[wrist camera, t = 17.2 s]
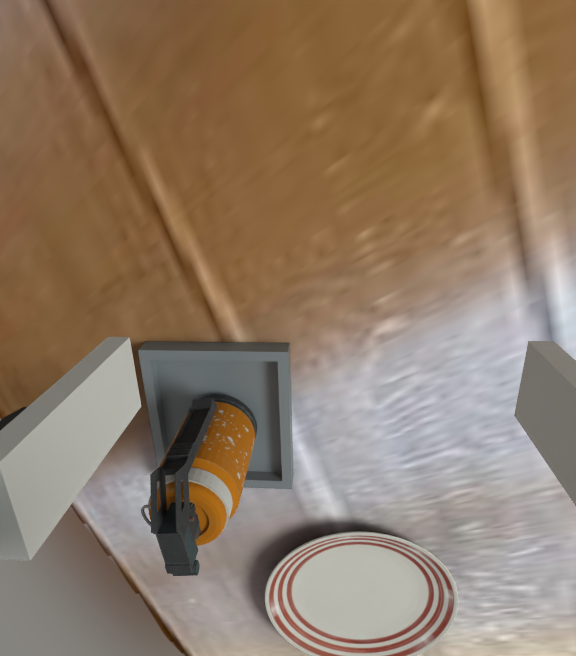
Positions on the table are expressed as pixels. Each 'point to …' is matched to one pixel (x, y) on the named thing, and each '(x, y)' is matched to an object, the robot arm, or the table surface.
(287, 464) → the tray
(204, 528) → the canister
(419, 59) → the table surface
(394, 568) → the dinner plate
